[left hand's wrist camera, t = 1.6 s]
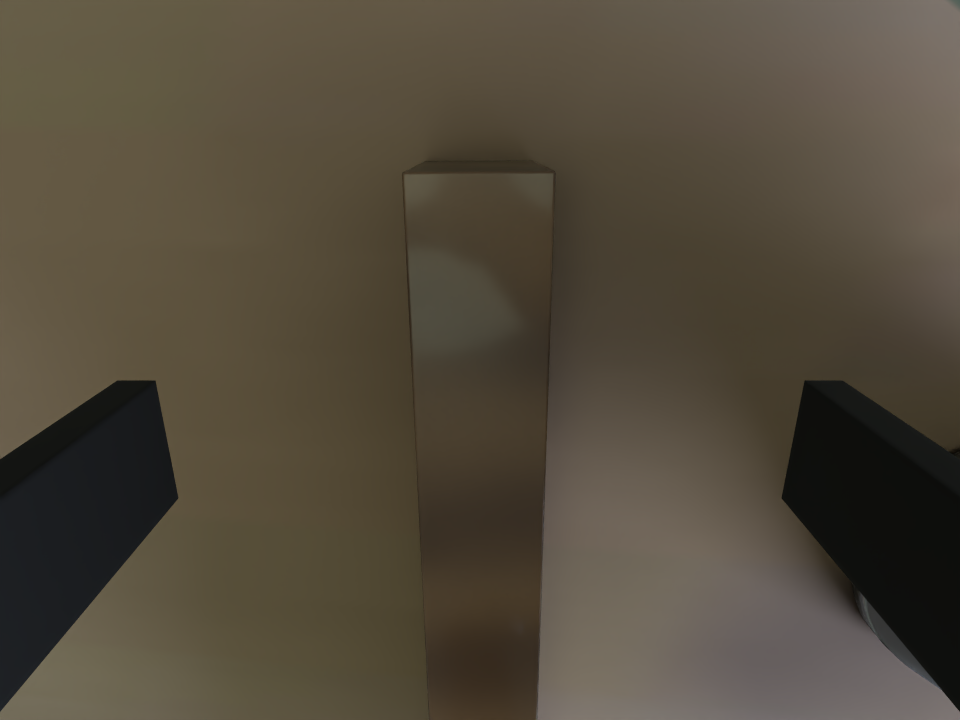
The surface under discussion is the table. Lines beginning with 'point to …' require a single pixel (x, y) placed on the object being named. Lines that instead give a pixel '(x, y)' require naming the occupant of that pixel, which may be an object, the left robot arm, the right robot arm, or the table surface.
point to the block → (480, 424)
